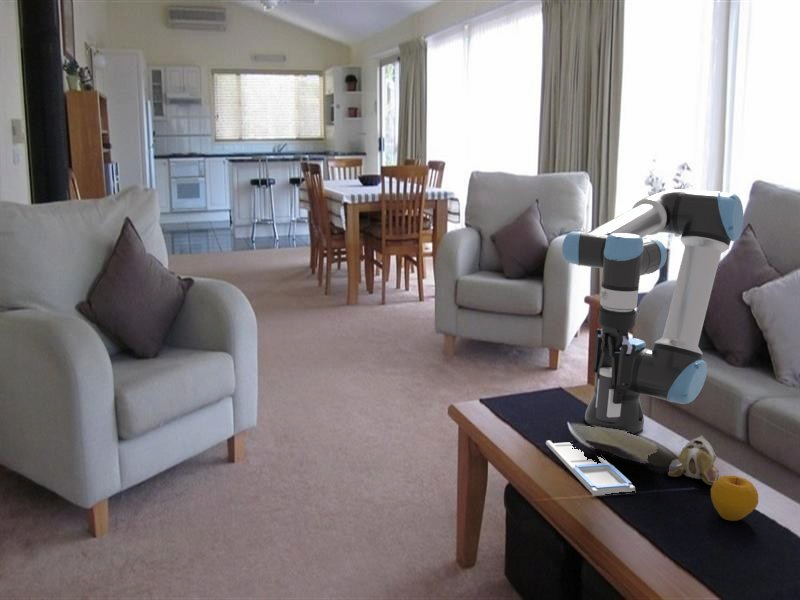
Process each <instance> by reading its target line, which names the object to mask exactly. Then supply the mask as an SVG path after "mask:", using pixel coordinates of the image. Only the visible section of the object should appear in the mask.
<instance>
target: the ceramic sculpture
mask: <svg viewBox="0 0 800 600" xmlns="http://www.w3.org/2000/svg"><path fill="white" fill-rule="evenodd" d="M679 453H680V454H679V455H678V457H677V458H678V459H679V461H680V462H681V463H682V465H681V466H679V467H678V468H677V469H675V470H673V471H669V472H668V471H667V475H668V477H672V478H673V477H674V478H677V477H680V476H682V475H684V476H685V477H688V478H690V477H691V479H694V478H695V480H702V481H703V482H704V483H705V484H707V485H708V486H711V487H712V486H713V483H714V482H715V481H716V480H717V479H718V478H720V475H719V469H718V468H716V466H715V465H714V464H715V461H716V460H717V455H716V453H715V451H714V448H713V447H712V445H711V443H710V442H709V441H708V440H707V439H706V438H705V437H704V436H703V434H702V435H701V434H700V436H698V437H696V438H693V439H691V440H690V441H689V442H687V443H686V444H685V445H684V447H682V449H681V451H680V452H679Z"/></svg>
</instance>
